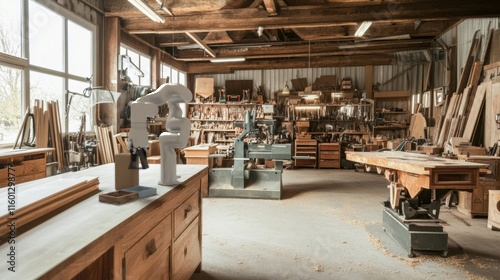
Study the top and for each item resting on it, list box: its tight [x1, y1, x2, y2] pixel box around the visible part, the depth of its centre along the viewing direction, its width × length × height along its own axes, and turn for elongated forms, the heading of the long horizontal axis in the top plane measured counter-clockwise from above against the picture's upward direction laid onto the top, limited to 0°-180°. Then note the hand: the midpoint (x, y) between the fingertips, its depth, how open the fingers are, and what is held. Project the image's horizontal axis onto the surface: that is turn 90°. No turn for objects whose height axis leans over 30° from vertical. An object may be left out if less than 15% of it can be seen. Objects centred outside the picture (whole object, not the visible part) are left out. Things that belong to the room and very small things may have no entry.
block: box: [114, 152, 140, 191], centre depth 177 cm, size 10×10×20 cm
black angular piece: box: [128, 147, 150, 170], centre depth 163 cm, size 9×6×12 cm, turn 91°
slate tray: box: [122, 185, 158, 199], centre depth 164 cm, size 12×12×3 cm
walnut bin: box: [98, 190, 139, 205], centre depth 153 cm, size 12×12×3 cm
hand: (138, 160), depth 164 cm, fingers closed on black angular piece, 6 cm apart
